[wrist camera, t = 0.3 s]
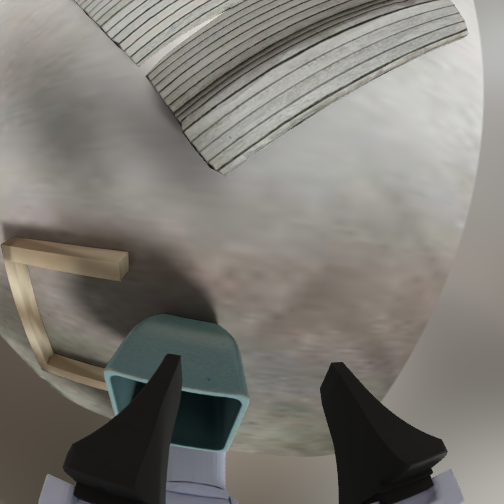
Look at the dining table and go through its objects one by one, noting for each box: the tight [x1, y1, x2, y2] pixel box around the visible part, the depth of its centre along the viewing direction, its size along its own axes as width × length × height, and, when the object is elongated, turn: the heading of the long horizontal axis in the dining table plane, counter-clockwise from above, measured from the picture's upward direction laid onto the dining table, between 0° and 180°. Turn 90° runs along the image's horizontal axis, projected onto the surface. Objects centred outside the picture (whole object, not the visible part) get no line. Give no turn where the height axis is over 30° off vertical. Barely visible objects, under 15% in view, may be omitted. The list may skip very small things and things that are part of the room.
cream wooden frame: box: [1, 237, 129, 391], centre depth 21 cm, size 16×14×2 cm
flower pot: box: [103, 314, 250, 452], centre depth 19 cm, size 9×9×9 cm
